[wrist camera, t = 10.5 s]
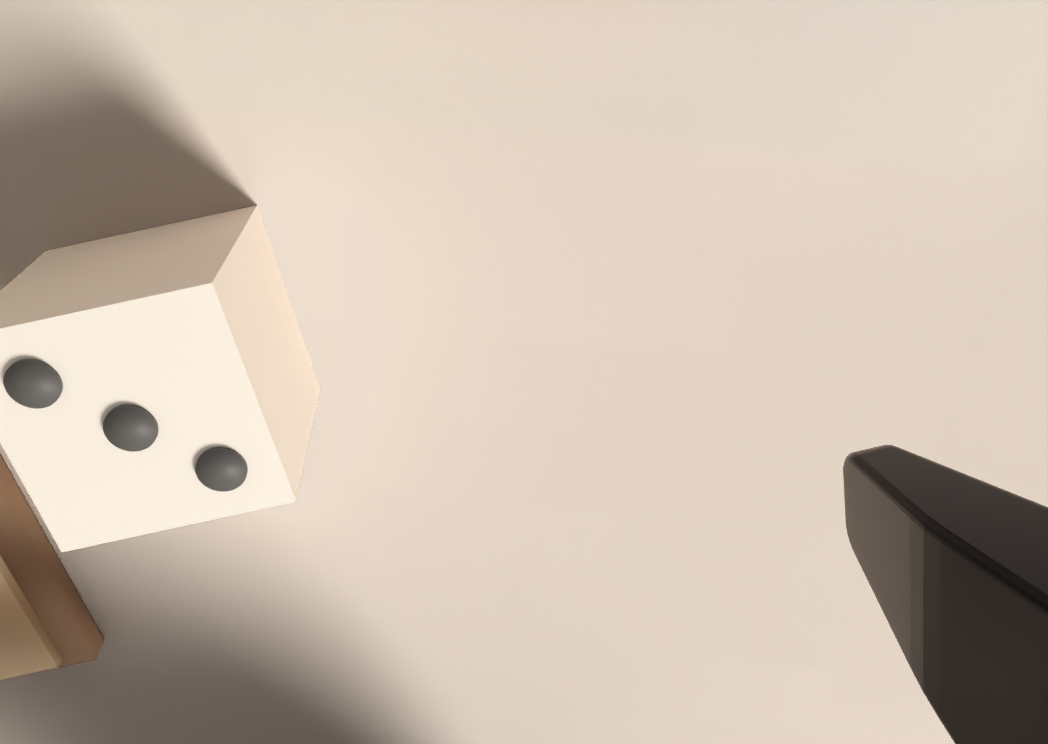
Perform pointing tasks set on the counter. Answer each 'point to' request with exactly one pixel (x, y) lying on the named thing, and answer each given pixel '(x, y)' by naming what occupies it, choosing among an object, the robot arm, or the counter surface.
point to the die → (155, 380)
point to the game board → (36, 595)
